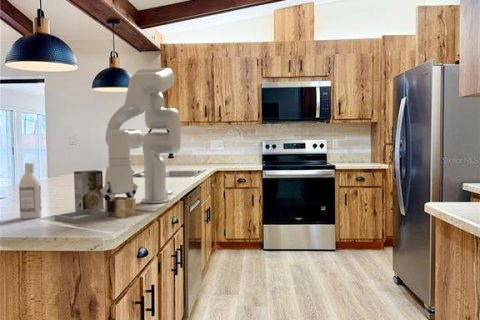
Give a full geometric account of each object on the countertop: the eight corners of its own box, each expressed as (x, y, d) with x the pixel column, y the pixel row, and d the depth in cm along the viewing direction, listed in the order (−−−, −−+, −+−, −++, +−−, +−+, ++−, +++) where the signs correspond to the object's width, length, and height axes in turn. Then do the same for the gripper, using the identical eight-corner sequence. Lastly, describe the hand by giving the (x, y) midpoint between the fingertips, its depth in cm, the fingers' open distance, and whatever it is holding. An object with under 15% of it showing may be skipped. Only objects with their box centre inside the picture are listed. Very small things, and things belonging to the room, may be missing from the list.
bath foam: (33, 214, 145) (31, 162, 144) (45, 216, 142) (44, 162, 141) (15, 218, 139) (13, 163, 138) (28, 219, 136) (27, 163, 135)
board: (134, 210, 154) (134, 208, 154) (156, 212, 148) (156, 211, 148) (103, 216, 141) (103, 214, 141) (126, 219, 135) (126, 218, 135)
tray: (88, 214, 145) (88, 209, 145) (109, 217, 139) (108, 212, 139) (54, 221, 133) (54, 215, 133) (75, 225, 127) (75, 218, 127)
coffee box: (95, 208, 158) (94, 169, 157) (104, 210, 154) (103, 170, 153) (74, 211, 151) (73, 171, 150) (82, 213, 147) (81, 171, 146)
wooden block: (105, 214, 142) (104, 198, 141) (118, 212, 147) (118, 196, 147) (122, 217, 137) (121, 200, 136) (135, 214, 142) (135, 198, 142)
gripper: (130, 161, 150) (131, 205, 151) (92, 163, 135) (93, 212, 136) (144, 162, 146) (144, 207, 147) (107, 164, 131) (108, 215, 132)
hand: (120, 209), depth 142 cm, fingers open, 8 cm apart
